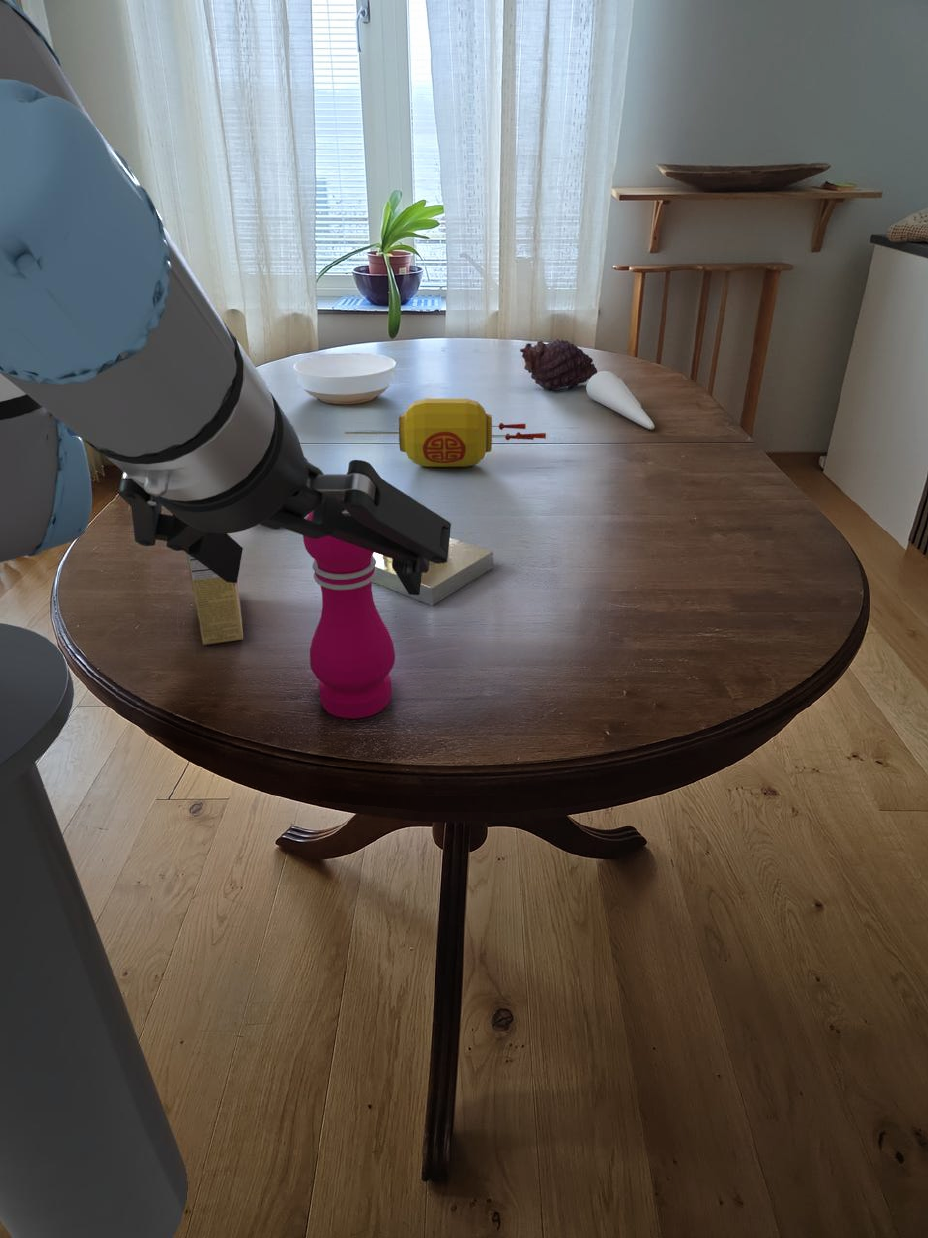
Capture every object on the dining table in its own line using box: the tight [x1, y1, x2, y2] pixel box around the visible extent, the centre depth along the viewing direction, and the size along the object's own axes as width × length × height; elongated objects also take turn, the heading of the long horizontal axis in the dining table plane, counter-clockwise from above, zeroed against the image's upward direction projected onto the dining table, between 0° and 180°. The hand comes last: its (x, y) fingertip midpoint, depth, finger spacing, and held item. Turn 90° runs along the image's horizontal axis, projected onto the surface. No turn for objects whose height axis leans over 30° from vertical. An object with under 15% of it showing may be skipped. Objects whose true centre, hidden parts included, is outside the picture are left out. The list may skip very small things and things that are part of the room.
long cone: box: [585, 370, 655, 431], centre depth 141 cm, size 6×6×19 cm
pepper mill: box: [302, 511, 396, 720], centre depth 64 cm, size 7×7×20 cm
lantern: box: [344, 398, 547, 468], centre depth 118 cm, size 10×10×30 cm
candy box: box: [185, 533, 244, 646], centre depth 77 cm, size 9×4×15 cm, turn 17°
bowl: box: [292, 352, 397, 405], centre depth 151 cm, size 20×20×6 cm
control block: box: [372, 536, 494, 607], centre depth 90 cm, size 14×11×4 cm
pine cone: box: [519, 339, 598, 391], centre depth 157 cm, size 18×10×10 cm
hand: (324, 571), depth 57 cm, fingers open, 13 cm apart
